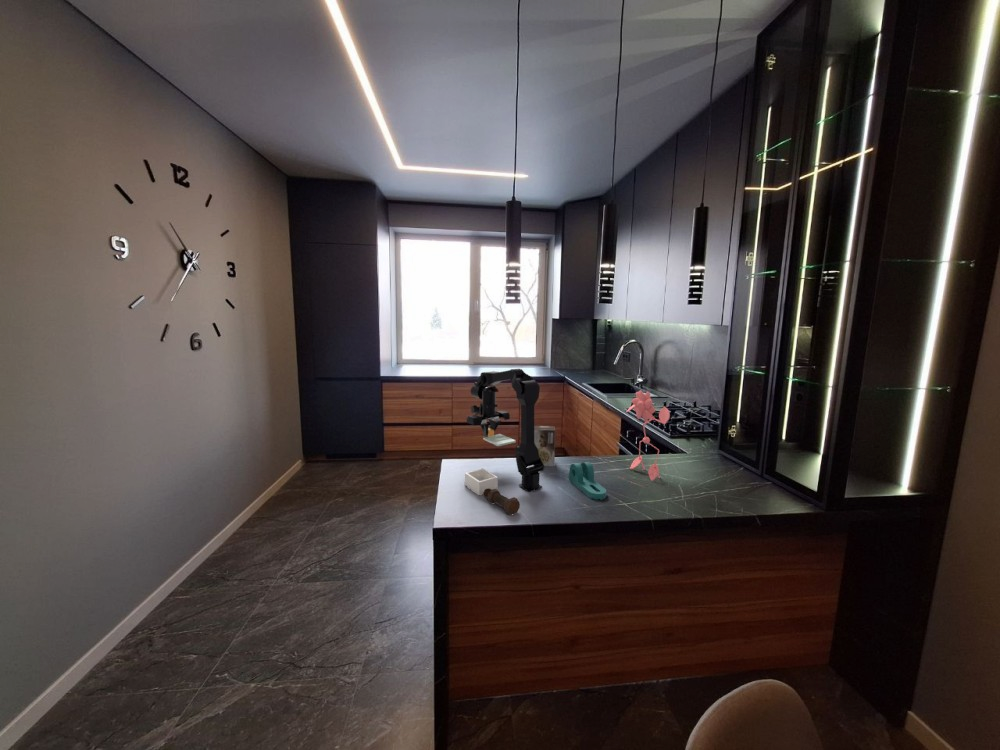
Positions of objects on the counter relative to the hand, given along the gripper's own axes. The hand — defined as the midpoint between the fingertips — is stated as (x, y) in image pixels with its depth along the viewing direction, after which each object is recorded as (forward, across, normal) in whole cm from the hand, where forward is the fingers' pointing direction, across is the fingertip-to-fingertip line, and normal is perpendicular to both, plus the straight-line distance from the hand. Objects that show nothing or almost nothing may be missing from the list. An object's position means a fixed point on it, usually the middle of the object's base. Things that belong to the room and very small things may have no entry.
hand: (488, 437), depth 166 cm
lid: (0, 0, +6) cm, 6 cm away
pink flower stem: (+12, -43, +44) cm, 63 cm away
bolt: (+12, +18, +33) cm, 39 cm away
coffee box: (+12, -20, +13) cm, 27 cm away
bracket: (+12, -17, +41) cm, 46 cm away
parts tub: (+12, +15, +18) cm, 27 cm away
